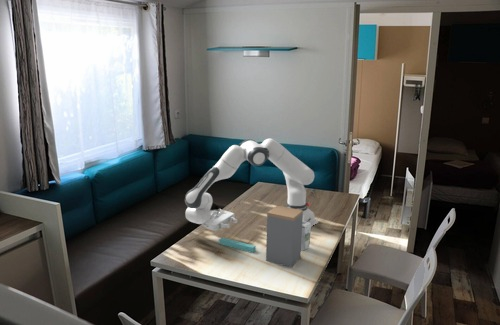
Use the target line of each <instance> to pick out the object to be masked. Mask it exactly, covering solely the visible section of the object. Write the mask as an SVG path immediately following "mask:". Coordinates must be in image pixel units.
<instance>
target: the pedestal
mask: <svg viewBox="0 0 500 325" xmlns="http://www.w3.org/2000/svg"><path fill="white" fill-rule="evenodd" d="M266 217H267V218H266V246H265V248H266V249H265V251H266V252H265V256H266V257H265V261H266V262H270V263H274V264H277V265H282V266H285V267H288V268H293V266H294V265H295V264H296V263H297V262H298V261H299V260H300V259H301V258H302V250H301V240H302V219H303V210H299V209H294V208H289V207H286V206H282V205H276V206H274V207H273V208H272V209H270V210H269V211H267V214H266Z"/></svg>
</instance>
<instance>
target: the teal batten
mask: <svg viewBox="0 0 500 325" xmlns="http://www.w3.org/2000/svg"><path fill="white" fill-rule="evenodd" d="M218 240H219V241H218V242H219V245H222V244H224V245H223V246H226V245H227V246H226V247H229V246H230V248H233V247H234V249H238V250H242V251H245V252H249V253H251V254H252V253H253V254H254V252H256V249H257V248H256V245H254V244H250V243H246V242H243V241H238V240H234V239H230V238H226V237H223V236H222V237H221V238H219V239H218Z"/></svg>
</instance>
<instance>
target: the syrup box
mask: <svg viewBox="0 0 500 325" xmlns="http://www.w3.org/2000/svg"><path fill="white" fill-rule="evenodd" d="M311 228H312V227H311V223H309V222H306V221H302V240H301V251H302V252H303V251H306V250H307V249H309V248H310V242H311Z"/></svg>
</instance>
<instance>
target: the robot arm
mask: <svg viewBox="0 0 500 325" xmlns="http://www.w3.org/2000/svg"><path fill="white" fill-rule="evenodd" d="M268 160H269V161H270V162H271V163H273V165H275V167H277V168H278V169H279V170H280V171H282V173H283V176H284V179H285V184H286V187H287V188H286V189H287V201H286V205H285V207H289V208H294V209H299V210H303V219H302V221H306V222H309V223H311V228H312V227H313V225H314V226H316V225H317V224H319V220H318V219H316V217H315V213H314V212H313V211H312V210H311V209H310V208H308V207H311V203H310V202H306V200H307V191H306V187H305V186H308V185H310V184H312V183H313V182H314V180H315V172H314V170H313V169H311V168H310V167H309V166H308V165H307V164H305V163H304V162H303V161H301V160H300V159H298V157H296V156H295V155H293V154H292V153H291V152H290V151H289V150H288V149H287V148H286V147H284V145H282V144H281V143H280V142H279V141H276V140H275V139H273V138H271V137H270V138H266V139H264V140H263V141H262V143H258V142H256V140H254V139H251V138H250V139H249V138H247V139H245V140H243V141H242V142H240V143H239V144H238V145H237V144H233V145H231V146H229V148H228V149H227V150H226V151H225V152H224V153H223V154H222V156H221V157H220V158H219V160H218V161H217V162H216V163H215V165H213V166H212V168H210V169H209V170H208V171H207V172H206V173H205V174H204V175H203V176H202V177H201V178H200V180H199V182H197V184H195V186H194V187H192V188H191V189H189V190H188V191H187V192H186V194H185V197H184V203H185V205H186V206H187V208H186V210H185V219H186V220H187V221H189V222H191V223H193V224H198V225H202V227H204V228H206V229H207V230H211V231H214V232H217V231H218V230H221V229H229V228H230V227H231V224H230V222H232V223H234V224H237V223H238V219H237V218H235V213H234V212H231V211H229V210H223V209H221V208H218V209H212V206H213V202H214V199H213V195H212V194H211V193H209V192H207V191H208V189H209V188H210V187H211V186H212V185H213V184H214V183H215V182H218V181H221V180H226V179H229V178H231V177H232V176H233V175H234V174H235V173H236V172H237V170H238V169H239V167H240V166H241V164H243V163H244V162H245V161H248V163H250V164H251V165H252V166H255V167H259V166H262V165H263V164H264V163H265V162H266V161H268ZM315 224H316V225H315Z"/></svg>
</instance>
